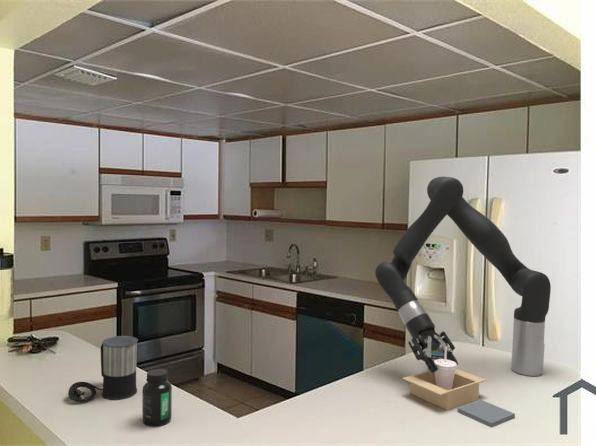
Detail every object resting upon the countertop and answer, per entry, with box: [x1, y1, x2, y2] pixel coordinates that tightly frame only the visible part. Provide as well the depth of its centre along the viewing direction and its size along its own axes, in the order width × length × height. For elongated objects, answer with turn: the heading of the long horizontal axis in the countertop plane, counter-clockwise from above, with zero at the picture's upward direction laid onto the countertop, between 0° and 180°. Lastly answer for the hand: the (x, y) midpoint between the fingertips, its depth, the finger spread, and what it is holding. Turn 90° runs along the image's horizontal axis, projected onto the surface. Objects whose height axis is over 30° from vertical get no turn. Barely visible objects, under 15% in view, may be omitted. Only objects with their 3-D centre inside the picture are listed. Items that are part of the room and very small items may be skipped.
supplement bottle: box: [141, 368, 173, 428], centre depth 119 cm, size 7×7×12 cm
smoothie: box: [434, 347, 458, 390], centre depth 138 cm, size 6×6×14 cm
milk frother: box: [67, 335, 139, 403], centre depth 132 cm, size 14×16×15 cm
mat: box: [456, 399, 516, 428], centre depth 127 cm, size 10×10×1 cm
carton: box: [402, 368, 487, 411], centre depth 138 cm, size 20×13×5 cm
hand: (445, 368), depth 137 cm, fingers open, 8 cm apart
